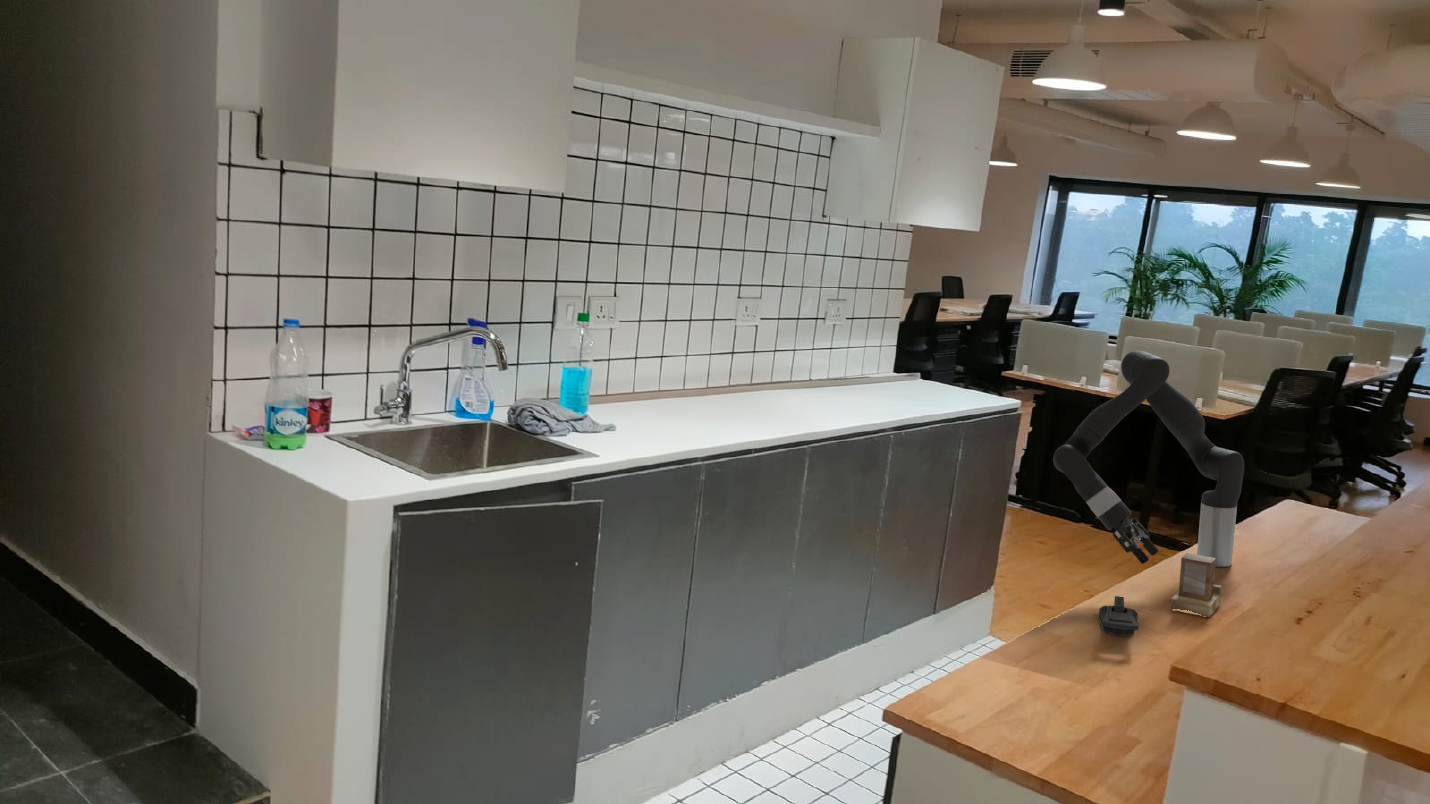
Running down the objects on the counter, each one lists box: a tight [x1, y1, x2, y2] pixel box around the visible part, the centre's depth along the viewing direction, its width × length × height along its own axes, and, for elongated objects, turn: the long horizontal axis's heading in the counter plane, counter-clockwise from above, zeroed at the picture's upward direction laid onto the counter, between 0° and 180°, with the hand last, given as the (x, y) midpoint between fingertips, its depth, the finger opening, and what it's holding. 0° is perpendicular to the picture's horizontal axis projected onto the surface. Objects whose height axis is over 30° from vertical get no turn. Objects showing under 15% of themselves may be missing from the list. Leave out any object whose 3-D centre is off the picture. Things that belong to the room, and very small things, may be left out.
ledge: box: [1169, 584, 1223, 618], centre depth 270 cm, size 12×9×5 cm
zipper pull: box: [1098, 595, 1140, 637], centre depth 254 cm, size 9×7×25 cm
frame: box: [1178, 552, 1216, 601], centre depth 270 cm, size 5×7×10 cm
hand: (1151, 557), depth 276 cm, fingers open, 8 cm apart
